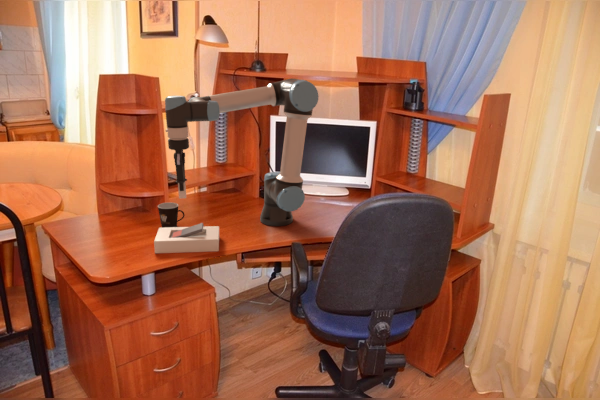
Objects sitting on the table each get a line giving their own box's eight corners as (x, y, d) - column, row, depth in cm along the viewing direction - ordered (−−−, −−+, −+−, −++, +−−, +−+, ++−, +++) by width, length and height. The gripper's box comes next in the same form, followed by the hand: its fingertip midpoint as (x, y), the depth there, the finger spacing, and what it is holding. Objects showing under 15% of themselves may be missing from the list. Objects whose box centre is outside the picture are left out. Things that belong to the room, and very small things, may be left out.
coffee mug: (155, 226, 195) (154, 205, 191) (173, 222, 200) (172, 201, 197) (168, 234, 187) (167, 212, 184) (186, 229, 193) (185, 207, 189)
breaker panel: (219, 237, 186) (219, 226, 184) (218, 251, 172) (218, 239, 171) (160, 238, 182) (159, 227, 180) (154, 253, 169) (153, 241, 167)
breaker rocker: (203, 225, 179) (202, 222, 179) (202, 231, 173) (201, 228, 172) (173, 235, 178) (172, 232, 178) (171, 241, 172) (170, 238, 172)
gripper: (169, 135, 171) (174, 193, 179) (165, 141, 159) (171, 203, 167) (189, 134, 172) (193, 192, 180) (187, 141, 160) (191, 202, 168)
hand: (182, 197), depth 173 cm, fingers closed
